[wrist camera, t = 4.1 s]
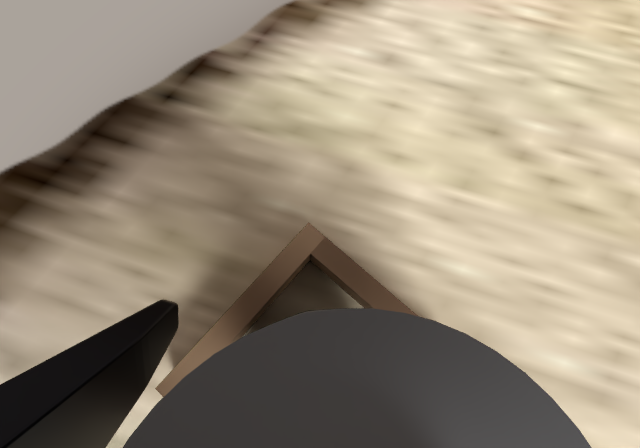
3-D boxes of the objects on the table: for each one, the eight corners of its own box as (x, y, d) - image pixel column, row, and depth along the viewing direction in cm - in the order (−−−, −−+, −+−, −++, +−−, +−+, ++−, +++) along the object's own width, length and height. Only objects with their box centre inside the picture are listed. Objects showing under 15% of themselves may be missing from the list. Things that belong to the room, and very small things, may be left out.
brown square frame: (326, 534, 13) (330, 573, 11) (175, 377, 14) (155, 388, 12) (450, 355, 15) (471, 361, 13) (308, 233, 16) (308, 222, 14)
